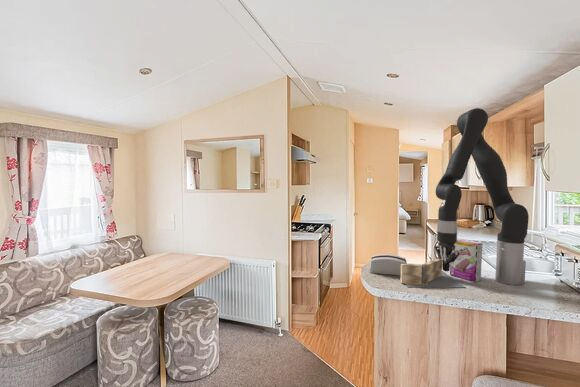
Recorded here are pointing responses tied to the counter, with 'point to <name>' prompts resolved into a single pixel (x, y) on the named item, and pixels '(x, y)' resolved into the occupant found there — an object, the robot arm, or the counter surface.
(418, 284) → the mat
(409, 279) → the fence fixed
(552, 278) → the counter surface
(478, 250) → the candy bar box
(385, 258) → the white plastic device
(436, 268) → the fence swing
